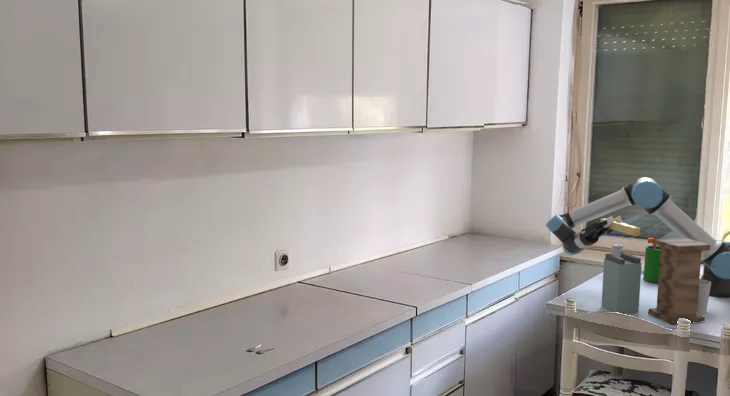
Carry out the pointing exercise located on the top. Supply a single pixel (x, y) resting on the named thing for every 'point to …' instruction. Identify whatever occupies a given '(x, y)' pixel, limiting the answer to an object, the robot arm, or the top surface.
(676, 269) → the walnut stand
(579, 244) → the robot arm
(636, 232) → the brass bar
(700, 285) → the cup
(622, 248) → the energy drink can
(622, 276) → the block
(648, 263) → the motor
